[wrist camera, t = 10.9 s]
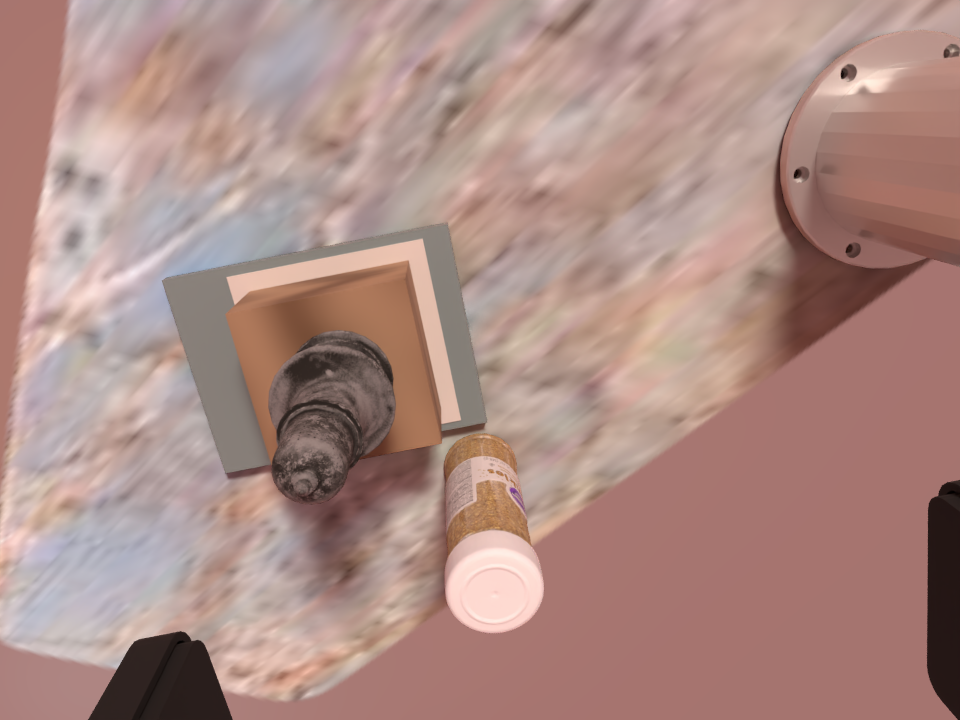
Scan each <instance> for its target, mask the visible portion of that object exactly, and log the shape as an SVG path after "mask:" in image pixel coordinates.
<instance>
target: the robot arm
mask: <svg viewBox="0 0 960 720" xmlns="http://www.w3.org/2000/svg"><path fill="white" fill-rule="evenodd" d="M943 53H944V56H943ZM841 70H843V72H844V75H843V77H842V78H841V76H840V74H841ZM796 169H797V170H798V175H797V176H796V177H795V178H794V172H795V170H796ZM780 182H781V187H782V192H783V197H784V202H785V204H786V207H787V209H788V211H789V214H790V216H791V218H792V221H793V222H794V224H795V225H796V226H797V228H798V229H799V231H800V232H801V234H802V235H803V236H804V237H805V238H806V239H807V240H808V241H809V242H810V243H811V244H812V245H814V246H815V247H816V248H817V249H818V250H820V251H822V252H823V253H825V254H827V255H829V256H830V257H832V258H834V259H836V260H839V261H842V262H844V263H847V264H850V265H855V266H860V267H865V268H894V267H899V266H904V265H910V264H913V263H915V262H918V261H920V260H923V259H926V258H931V259H934V260H938V261H941V262H945V263H949V264H952V265H956V266H959V267H960V38H957V37H954V36H951V35H949V34H946V33H943V32H935V31H927V30H914V31H903V32H896V33H892V34H887V35H882V36H878V37H876V38H873V39H871V40H868V41H866V42H864V43H861V44H859V45H857V46H855V47H853V48H852V49H850V50H849V51H847V52H846V53H844V54H842V55H841V56H839V57H838V58H836V59H835V60H834V61H833V62H832V63H831V64H830V65H829V66H828V67H826V68H825V69H824V70H823V71H822V72H821V73H820V74H819V75H818V76H817V77H816V79H815V80H814V81H813V82H812V84H811V85H810V86H809V87H808V89H807V90H806V91H805V93H804V94H803V96H802V97H801V99H800V101H799V103H798V105H797V107H796V108H795V110H794V112H793V114H792V116H791V119H790V122H789V124H788V127H787V130H786V133H785V136H784V140H783V146H782V152H781V158H780ZM848 245H849V248H848V250H847V251H846V248H847V246H848ZM927 617H928V619H927V620H928V621H927V624H928V626H927V627H928V628H927V631H928V632H927V668H928V674H929V678H930V681H931V683H932V686H933V688H934V690H935V692H936V693H937V695H938V696H939V698H940V699H941V700H942V702H943V703H944V704H945V705H946V706H947V707H948V709H949V710H950V711H951V712H952V713H953V714H954V716H955V717H956V718H957V719H958V720H960V480H958V481H953V482H947V483H946V484H944V485H942V487H941V489H940V491H939V495H938V496H937V497H934V498H932V499H931V501H930V503H929V507H928V616H927ZM88 720H232V717H231V714H230V711H229V708H228V706H227V703H226V700H225V698H224V695H223V692H222V690H221V687H220V684H219V681H218V679H217V676H216V673H215V671H214V668H213V665H212V663H211V660H210V657H209V654H208V652H207V649H206V647H205V645H204V644H203V643H202V642H201V641H199V640H195V641H191V639H190V637H189V636H188V635H187V634H186V633H185V632H181V631H180V632H175V633H170V634H164V635H159V636H154V637H149V638H144V639H139V640H137V641H135V642H134V643H133V644H132V645H131V647H130V648H129V650H128V651H127V653H126V655H125V657H124V658H123V660H122V662H121V664H120V665H119V667H118V669H117V671H116V672H115V674H114V676H113V677H112V679H111V681H110V683H109V684H108V686H107V688H106V690H105V692H104V693H103V695H102V697H101V698H100V700H99V702H98V704H97V705H96V707H95V709H94V711H93V713H92V714H91V716H90V718H89V719H88Z"/></svg>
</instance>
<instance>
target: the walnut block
mask: <svg viewBox="0 0 960 720" xmlns="http://www.w3.org/2000/svg"><path fill="white" fill-rule="evenodd" d="M225 315H226V318H227V322H228V325H229V328H230V331H231V335H232V338H233V341H234V344H235V348H236V351H237V354H238V357H239V361H240V364H241V367H242V371H243V374H244V377H245V380H246V384H247V387H248V390H249V393H250V397H251V400H252V403H253V406H254V410H255V413H256V416H257V419H258V423H259V426H260V429H261V432H262V436H263V439H264V442H265V446H266V449H267V452H268V455H269V459H270V462H271V465H272V460H273V457H274V454H275V452H276V450H277V448H278V446H277V442H276V429H275V427H274V425H273V424H272V421H271V417H270V413H269V409H268V400H269V390H270V387H271V384H272V381H273V378H274V376H275V375H276V373H277V372H278V371H279V369H280V368H281V366H282V365H283V364H284V363H285V362H286V361H287V360H289V359H290V358H291V357H292V356H294V355H295V354H296V353H297V351H298V350H299V348H300V347H301V346H302V345H303V344H304V343H306V342H307V341H308V340H309V339H311V338H312V337H314V336H316V335H319V334H321V333H323V332H328V331H335V330H342V331H352V332H355V333H357V334H360V335H363V336H365V337H367V338H368V339H370V340H371V341H373V342H374V343H376V344H377V345H378V346H379V347H380V349H381V350H382V351H383V352H384V353H385V354H386V356H387V358H388V360H389V363H390V365H391V367H392V373H393V378H394V380H393V390H394V395H395V400H396V409H395V419H394V422H393V424H392V427H391V429H390V432H389V434H388V435H387V436H386V438H385V439H384V440H383V441H382V443H381V444H380V445H379V446H378V447H377V448H375V449H374V450H373V451H371V452H370V453H369V454H367V455H365V456H363V457H360V459H364V458H369V457H374V456H380V455H385V454H390V453H395V452H400V451H405V450H410V449H415V448H421V447H426V446H431V445H436V444H441V443H442V426H441V405H440V400H439V396H438V391H437V387H436V382H435V378H434V373H433V369H432V364H431V360H430V355H429V350H428V346H427V341H426V337H425V332H424V328H423V323H422V319H421V314H420V310H419V305H418V300H417V296H416V291H415V287H414V282H413V278H412V273H411V269H410V264H409V260H407V261H402V262H397V263H392V264H386V265H381V266H376V267H371V268H366V269H361V270H356V271H351V272H346V273H341V274H336V275H330V276H325V277H320V278H315V279H310V280H305V281H300V282H295V283H290V284H285V285H280V286H275V287H269V288H264V289H259V290H254V291H249V292H248V293H247V294H246V295H245V296H244V297H243V298H242V299H241V300H240V301H239V302H238V303H237V304H236V305H234V306H233V307H232V308H231V309H230V310H229V311H228V312H227V313H226V314H225Z"/></svg>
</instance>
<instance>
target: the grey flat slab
mask: <svg viewBox="0 0 960 720" xmlns="http://www.w3.org/2000/svg"><path fill="white" fill-rule="evenodd" d="M407 260H409V264H410V269H411V273H412V278H413V282H414V287H415V291H416V296H417V300H418V305H419V310H420V314H421V319H422V323H423V328H424V332H425V337H426V341H427V346H428V350H429V355H430V360H431V364H432V369H433V373H434V378H435V382H436V387H437V391H438V396H439V400H440V405H441V426H442V431H445V430H450V429H456V428H461V427H466V426H471V425H476V424H481V423H486V422H487V419H486V413H485V408H484V403H483V398H482V393H481V388H480V383H479V378H478V373H477V368H476V363H475V358H474V353H473V348H472V343H471V338H470V333H469V328H468V323H467V318H466V313H465V308H464V303H463V298H462V293H461V288H460V283H459V278H458V273H457V268H456V263H455V258H454V253H453V248H452V243H451V238H450V233H449V228H448V223H442V224H437V225H432V226H427V227H422V228H416V229H411V230H406V231H401V232H396V233H391V234H386V235H381V236H376V237H371V238H366V239H361V240H355V241H350V242H345V243H340V244H335V245H330V246H325V247H320V248H315V249H310V250H305V251H300V252H294V253H289V254H284V255H279V256H274V257H269V258H264V259H259V260H254V261H249V262H244V263H239V264H233V265H228V266H223V267H218V268H213V269H208V270H203V271H198V272H193V273H188V274H183V275H177V276H172V277H167V278H165V279H164V280H162V282H163V285H164V289H165V292H166V295H167V298H168V301H169V304H170V307H171V310H172V313H173V316H174V319H175V322H176V325H177V328H178V331H179V334H180V337H181V340H182V343H183V346H184V349H185V352H186V355H187V358H188V361H189V364H190V367H191V370H192V373H193V376H194V379H195V382H196V386H197V389H198V392H199V395H200V398H201V401H202V404H203V407H204V410H205V413H206V416H207V419H208V422H209V425H210V428H211V431H212V434H213V437H214V440H215V443H216V446H217V449H218V452H219V455H220V458H221V461H222V464H223V467H224V470H225V473H230V472H235V471H240V470H246V469H251V468H256V467H261V466H266V465H271V462H270V459H269V455H268V452H267V449H266V446H265V442H264V439H263V436H262V432H261V429H260V426H259V423H258V419H257V416H256V413H255V410H254V406H253V403H252V400H251V397H250V393H249V390H248V387H247V384H246V380H245V377H244V374H243V371H242V367H241V364H240V361H239V357H238V354H237V351H236V348H235V344H234V341H233V338H232V335H231V331H230V328H229V325H228V322H227V318H226V315H225V314H226V313H227V312H228V311H229V310H230V309H231V308H232V307H233V306H234V305H236V304H237V303H238V302H239V301H240V300H241V299H242V298H243V297H244V296H245V295H246V294H247V293H248V292H249V291H254V290H259V289H264V288H269V287H275V286H280V285H285V284H290V283H295V282H300V281H305V280H310V279H315V278H320V277H325V276H330V275H336V274H341V273H346V272H351V271H356V270H361V269H366V268H371V267H376V266H381V265H386V264H392V263H397V262H402V261H407Z"/></svg>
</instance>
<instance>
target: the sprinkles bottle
mask: <svg viewBox="0 0 960 720" xmlns="http://www.w3.org/2000/svg"><path fill="white" fill-rule="evenodd" d="M444 468H445V476H446V489H445V502H446V541H447V548H448V559H447V562H446V566H445V595H446V601H447V604H448V607H449V609H450V610H451V612H452V613H453V615H454V616H455V618H456V619H457V620H459V621H460V622H461V623H462V624H464V625H465V626H467V627H468V628H470V629H473V630H475V631H479V632H483V633H502V632H507V631H510V630H513V629H515V628H518V627H520V626H521V625H523V624H524V623H526V622H527V621H528V620H529V619H530V618H531V617H532V616H533V615H534V614H535V613H536V611H537V610H538V608H539V606H540V604H541V601H542V599H543V593H544V584H543V577H542V571H541V567H540V562H539V559H538V557H537V554H536V553H535V551H534V550H533V548H532V546H531V542H530V536H529V532H528V527H527V517H526V512H525V508H524V502H523V497H522V492H521V487H520V482H519V479H518V477H517V473H516V471H517V463H516V459H515V455H514V453H513V451H512V449H511V448H510V446H509V445H508V444H507V443H505V442H504V441H503V440H502V439H500V438H498V437H495V436H493V435H489V434H473V435H469V436H467V437H464V438H462V439H460V440H458V441H457V442H456V443H455V444H454V445H453V446H452V447H451V448H450V450H449V452H448V453H447V455H446V459H445V462H444Z"/></svg>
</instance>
